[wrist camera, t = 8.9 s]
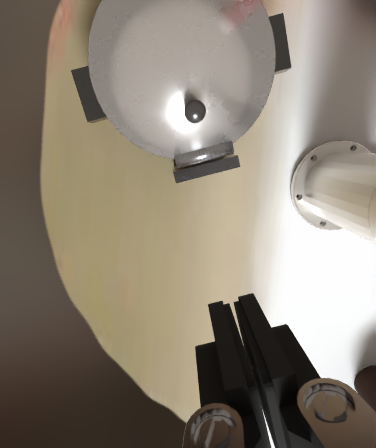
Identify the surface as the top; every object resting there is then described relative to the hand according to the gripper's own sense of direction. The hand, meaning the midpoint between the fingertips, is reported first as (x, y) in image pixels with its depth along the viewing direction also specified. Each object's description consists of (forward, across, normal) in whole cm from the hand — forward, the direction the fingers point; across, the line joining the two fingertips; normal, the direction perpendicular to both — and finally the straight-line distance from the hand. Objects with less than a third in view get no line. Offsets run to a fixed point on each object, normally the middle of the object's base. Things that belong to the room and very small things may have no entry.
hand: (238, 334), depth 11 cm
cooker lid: (+23, -2, -15) cm, 28 cm away
